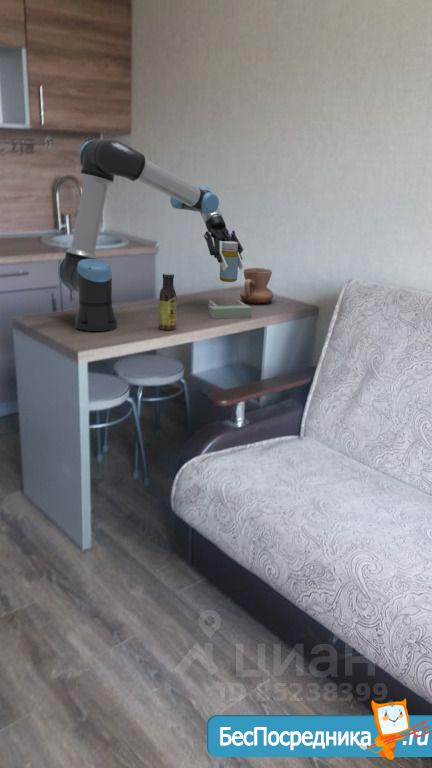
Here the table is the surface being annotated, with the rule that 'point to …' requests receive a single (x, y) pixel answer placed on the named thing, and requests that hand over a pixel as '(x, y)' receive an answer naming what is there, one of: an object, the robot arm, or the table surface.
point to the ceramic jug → (256, 285)
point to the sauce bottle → (167, 303)
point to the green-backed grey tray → (229, 310)
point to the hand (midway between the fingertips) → (233, 268)
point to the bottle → (229, 261)
